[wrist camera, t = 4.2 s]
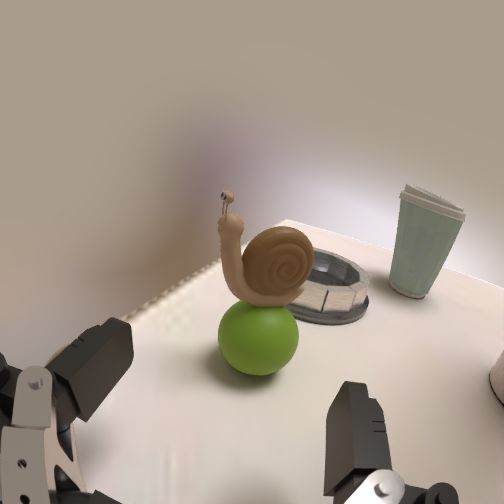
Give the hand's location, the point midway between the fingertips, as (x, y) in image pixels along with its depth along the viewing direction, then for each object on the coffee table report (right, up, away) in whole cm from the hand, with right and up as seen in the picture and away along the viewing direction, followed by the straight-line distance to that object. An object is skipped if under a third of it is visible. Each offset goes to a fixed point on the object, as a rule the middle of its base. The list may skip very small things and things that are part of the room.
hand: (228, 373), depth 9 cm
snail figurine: (0, -4, +10) cm, 11 cm away
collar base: (+8, 0, +23) cm, 25 cm away
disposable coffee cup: (+24, -2, +28) cm, 37 cm away
